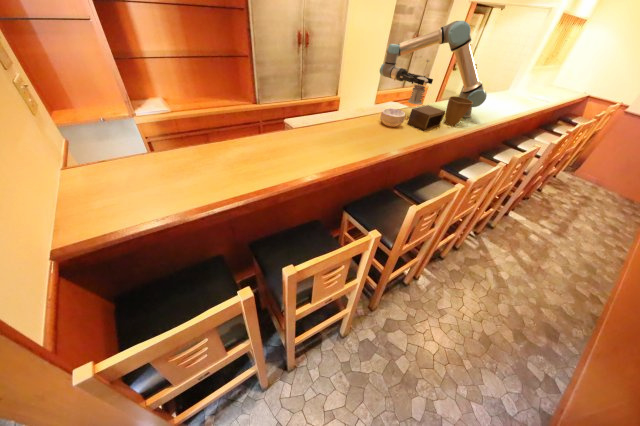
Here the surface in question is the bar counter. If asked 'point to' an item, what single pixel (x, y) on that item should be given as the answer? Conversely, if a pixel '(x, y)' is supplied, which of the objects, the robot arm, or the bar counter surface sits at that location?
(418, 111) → the shelf
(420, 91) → the french press
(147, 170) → the bar counter surface
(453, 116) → the plant pot
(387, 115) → the paper bowls
